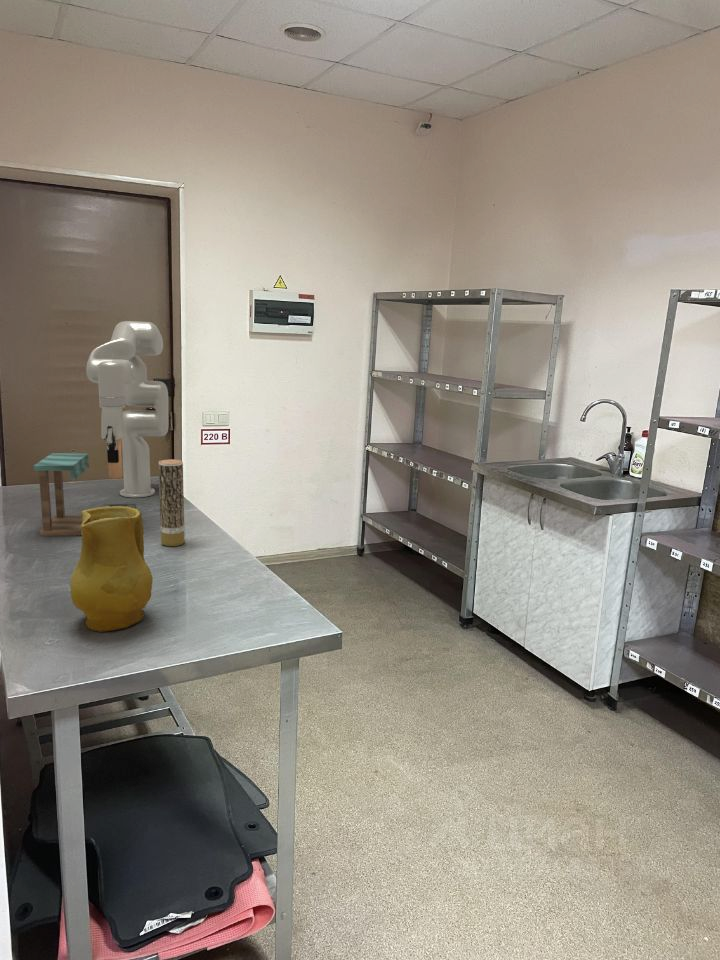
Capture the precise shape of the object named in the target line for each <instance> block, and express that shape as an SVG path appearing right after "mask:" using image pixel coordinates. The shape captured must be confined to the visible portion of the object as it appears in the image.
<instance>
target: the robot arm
mask: <svg viewBox="0 0 720 960" xmlns="http://www.w3.org/2000/svg"><path fill="white" fill-rule="evenodd" d="M163 349H164V339H163V336H162V334H161V331H160V329H159V328H158V327H157V325H156V324H154V323H153V322H151V321H137V320H136V321H135V320H124V321H123V320H122V321H120V322H118V323H117V324H116V326H115V327H114V329H113V332H112V336H111V338H110V341H108V342H106V343H102V345H100V346H97V347H96V348H94V349H93V350H92V351H91V353H90V354H89V357H88V360H87V362H86V363H87V364H86V371H85V372H86V376H87V379H88V380H89V381H90V382H92V383H95V384H98V385H97V386H98V400H99V401H98V403H99V408H101V420H100V425H101V427H100V428H101V429H100V430H101V438H100V439H101V440H102V441H105V440H106V447H107V448H106V449H107V451H106V452H107V453H106V454H107V455H106V456H107V464H108V463H118V462H119V452H118V450H117V440H118V439H120V438H121V453H122V474H123V488H122V489H120V490H119V494H120V496H122V497H125V498H145V497H149V496H153V495H155V493H156V489H155V488H153V487H151V462H150V461H151V460H150V458H151V457H150V454H151V453H150V447H149V444H148V443H147V441H146V440H145V439H144V437H164V436H165V435H167V434H168V431H169V426H170V425H169V391H168V387H167V385H166V384H165V383H164V382H163V381H159V380H148V373H147V372H148V368H147V365H146V364H145V362H144V361H143V360H142V358H141V357H140V356H151V357H153V356H160V355H161V353H162V352H163ZM126 405H127V406H130V407H143V408H145V407H148V408H149V407H150V408H155V410H153V409H152V410H150V409H149V410H148V409H147V410H144V409H128V410H125V411H123V408H126V407H127V406H126ZM112 438H115V440H112ZM114 442H115V443H114Z"/></svg>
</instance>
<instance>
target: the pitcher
mask: <svg viewBox="0 0 720 960" xmlns="http://www.w3.org/2000/svg"><path fill="white" fill-rule="evenodd" d="M80 516H82V524H81V528H82V531H81V534H82V536H81V549H80V554H79V559H78V562H77V564H76V567H75V569H74V570H73V573H72V575H71V578H70V584H69V586H70V596H71V597H70V598H71V601H72V604H73V605H74V607H76V609H78V610H79V611H81V612H82V613H83V614H84V616H85V617H86V619H85V621H84V622H85V625H86V627H87V629H89V630H91V631H93V632H94V631H95V632H98V633H99V632H100V633H103V632H104V633H106V632H109V631H110V632H111V631H116V630H121V629H126V628H128V627H130V626H132V625H135V624H136V623H139V622H140V621H142V620H143V618H144V616H145V611H144V610H143V609H144V608H145V607H146V606H147V604H148V602H150V600H151V597H152V590H153V575H152V572H151V569H150V567H149V565H148V564H147V562H146V560H145V556H144V555H145V554H144V553H145V545H144V544H145V542H144V534H145V533H144V527H143V516H142V513H141V511H140V510H139V508H138V509H137V508H136V509H135V508H131V507H124V506H112V507H110V506H108V507H101V506H100V507H99V506H98V507H94V508H89V509H85V510H84V509H83V510H82V511H81V515H80Z"/></svg>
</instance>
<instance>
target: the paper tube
mask: <svg viewBox="0 0 720 960" xmlns="http://www.w3.org/2000/svg"><path fill="white" fill-rule="evenodd" d="M183 463H184V462H183V460H181V459H163V460H162V459H161V460H159V461H158V481H159V482H158V485H159V487H158V488H159V516H160V517H159V518H160V521H159V522H160V523H159V524H160V542H161V545H164V546H166V547H178V546H181V545H182V544H184V543H185V503H184V502H185V501H184V498H185V497H184V492H185V491H184V464H183Z"/></svg>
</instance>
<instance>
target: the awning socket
mask: <svg viewBox="0 0 720 960" xmlns="http://www.w3.org/2000/svg"><path fill="white" fill-rule="evenodd" d="M89 461H90V460H89V453H59V452H57V453H50V454H48V455H47V456H45V457H44V458H43V459H41V460H40V461H38V462H37V463H35V464H34V465H33V471H35V472H36V471H38V478H39V479H38V481H39V490H40V505H41V508H40V509H41V517H42V518H41V519H42V520H41V521H42V528H41V529H40V530H39V536H40V537H51V536H52V537H54V536H55V537H59V536H60V537H65V536H66V537H70V536H71V537H72V536H74V537H75V536H76V535H82V534H81V531H82V528H81V524H82V515H66V510H65V499H64V497H65V496H64V484H63V483H64V479H63V472H65V471H66V472H67V471H68V472H69V471H70V481H76V479H78V478H79V477H80V476H81V475H82V474H83V473H84V472H85V471H87V470H88V469H89V468H90V466H89V465H90V463H89ZM49 471H50V472H52V471H53V482H54V485H53V486H54V497H55V512H56V515H54V516H53V518H52V509H51V494H50V493H51V491H50V477H49ZM108 506H110V507H112V506H124V507H131V508H135V509H137V503H103V504H102V505H101V506H100V507H108ZM76 537H77V536H76Z"/></svg>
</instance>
